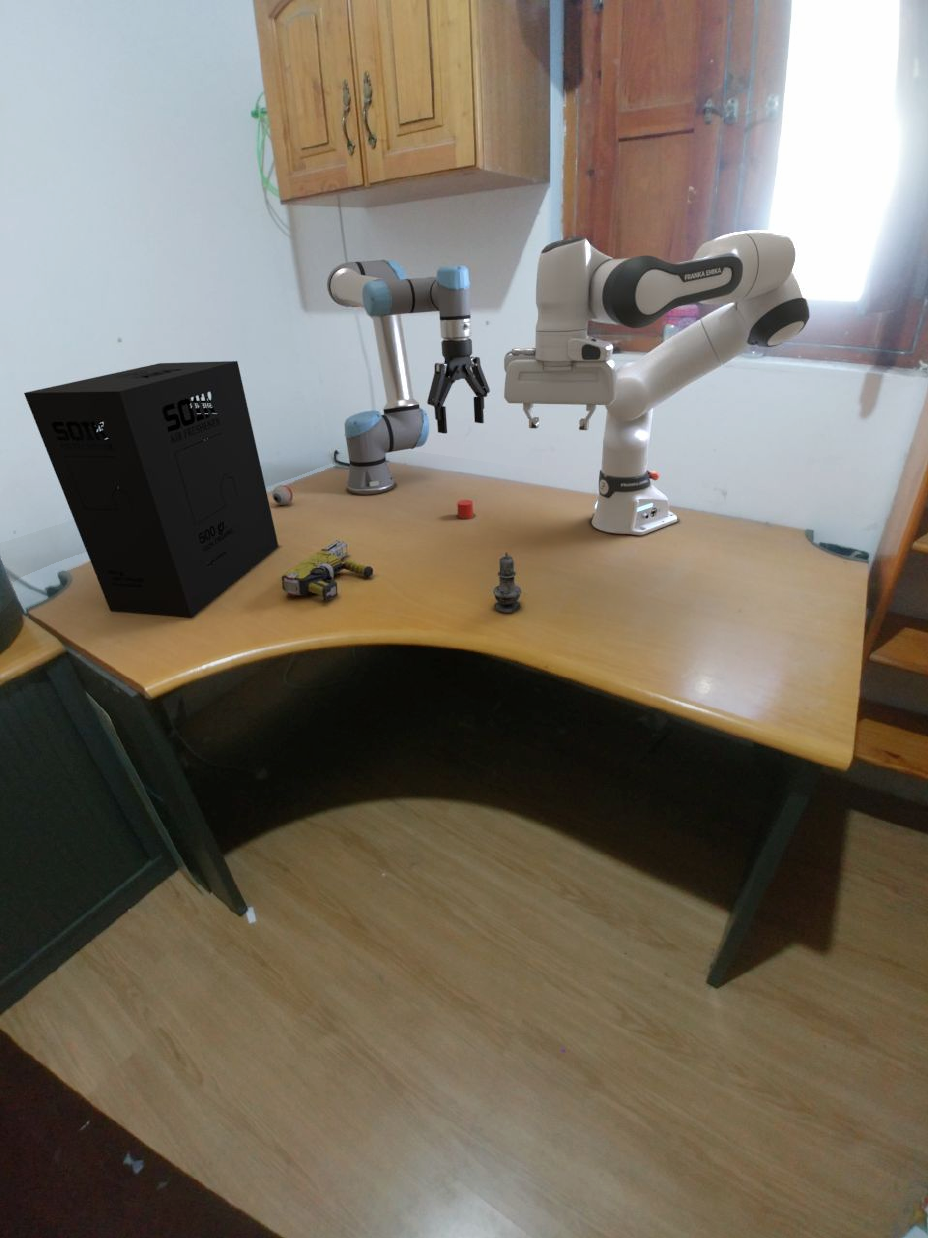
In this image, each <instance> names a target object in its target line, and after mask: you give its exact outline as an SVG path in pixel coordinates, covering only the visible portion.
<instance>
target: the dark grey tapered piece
mask: <svg viewBox="0 0 928 1238" xmlns="http://www.w3.org/2000/svg"><path fill="white" fill-rule="evenodd" d="M498 562H499V564H498V565H499V566H498V567H499V571H498V572H497V576H498V577H499V578H498V579H499V583H498V585H497V586H495V587H494V588H492V594H493V595H494V598H495V600H496V601H497V602H495V603H494V609H495V610H496V611H497V612H500V613H515V612H517V611H519V609H520V608H521V603H520V602H518V601H519V600H520V597H521V594H522V591H523V590H522V588H521V587H520V586H519V585H516V581H515V577H516V575H517V572H516V571H515V560H514V557H512V556H511V555H509V553H508V552H505V553H504V556H501V557H500V558H499V561H498Z"/></svg>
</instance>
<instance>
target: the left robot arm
mask: <svg viewBox="0 0 928 1238" xmlns="http://www.w3.org/2000/svg"><path fill="white" fill-rule="evenodd" d="M469 276H470V275H469V269H468V267H467V266H465V265H450V266H439V267H438V268H437V271H436V276H427V277H416V278H408V277H407V274H406V272H405V270H404V267H403V266H401V264H400V263H399V262H398V261H397V260H387V259H379V260H378V259H377V260H376V259H375V260H365V261H364V260H363V261H347V262H344V263H341V264H338V265H337V266H335V267H334V268H333V269H332V270H331V271H330V273H329V275H328V277H327V282H326V288H327V292H328V295H329V296H330V298H331V299H332V300H333V302H334V303H336V304H337V305H340V306H343V307H346V308H363V309H364V310H365V312H366V315H367V316H368V317H369V318H370V319H371V320H372V322H373V329H374V334H375V341H376V347H377V353H378V358H379V365H380V371H381V376H382V381H383V389H384V393H385V399H386V403H385V405H384V406H383V408H382V411H383V414H382V413H381V412H380V411H378V410H365V411H361V412H357V413H354V414H353V415H350V416H349V417H347V418H346V419H345V421H344V437H345V442H346V448H347V454H348V455H347V456H348V461H349V462H344V461H340V460H338V459H337V454H339V451H338V450H337V449H335V450H334V451H333V460H334V461H335V462H336V463H337V464H339V465H343V466H349V471H348V476H347V482H346V487H347V491H348V492H349V493H350V494H353V495H359V496H371V495H379V494H384V493H385V492H389V491H391V490H392V489H394V488H395V478H394V477H393V475H392V471H391V470H390V467H389V466H388V463H387V458H386V454H387V453H394V452H400V451H405V450H413V449H415V448H419V447H423V446H424V445H425V444H426V443H427V441H428V438H429V435H430V421H429V416H428V414H427V411H426V410H425V409H423V408H421V407H420V403H419V402H418V401H417V400H416V399H415V398H414V393H413V387H412V381H411V379H412V378H411V373H410V367H409V361H408V354H407V347H406V341H405V335H404V328H403V321H402V315H403V314H405V315H407V314H420V313H432V312H439V313H438V314H439V329H440V338H441V339H443V340H441V342H440V343H441V355H442V357H443V359H444V361H443V362H436V363H434V371H433V372H434V374H433V377H432V381H431V386H430V390H429V394H428V397H427V403H426V404H427V405H429V406H432V407H433V408H434V418H435V420H436V425H437V433H438V434H448V423H447V407H446V406H445V405H444V404H445V403H446V402H445V401H446V399H447V397H448V395H449V393H450V390H451V389H452V386H453V384H454V383H455V382H456V381H459V380H465V382H466V383H467V385H468V386H469V388H470V389H471V391H472V392H473V393H474V395H475V396H473V416H474V417H473V418H474V423H476V424H484V423H485V420H484V419H485V418H484V410H485V398H487V397H488V394H490V392H491V389H490V387H489V384H488V382H487V380H486V376H485V374H484V371H483V369H482V365H481V358H480V357H479V356H472V354H473V340H472V339H471V336H472V320H471V319H472V317H471V288H470V287H471V283H470V278H469Z"/></svg>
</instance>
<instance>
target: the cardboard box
mask: <svg viewBox="0 0 928 1238" xmlns="http://www.w3.org/2000/svg"><path fill="white" fill-rule="evenodd" d="M209 393H210V397H209V395H208V394H209ZM23 394H24V397H25V399H26V402H27V405H28V407H29V410H30V412H31V414H32V418H33V420H34V423H35V425H36V427H37V430H38V431H39V432H38V433H39V435H40V437H41V440H42V442H43V445H44V447H45V450H46V452H47V455H48V457H49V460H50V463H51V465H52V467H53V470H54V473H55V475H56V478H57V480H58V483H59V486H60V488H61V490H62V493H63V495H64V498H65V501H66V503H67V505H68V509H69V510H70V513H71V516H72V518H73V520H74V523H75V525H76V528H77V532H78V533H79V536H80V538H81V541H82V544H83V546H84V548H85V551H86V554H87V555H88V558H89V561H90V563H91V566H92V568H93V571H94V574H95V576H96V579H97V581H98V584H99V587H100V589H101V591H102V594H103V597H104V598H105V601H106V603H107V607H108V609H109V611H110V612H119V613H120V612H122V613H133V614H146V615H157V616H160V615H161V616H170V617H171V616H172V617H183V618H193V617H194V616H195V615H196V614H197V613H199V612H200V611H202V610H203V609H204V608H205V607H206V606H208V605H209V604H210V603H211V602H213V600H214V599H216V598H217V597H218V596H219V595H221V594H222V593H223V592H225V591H226V590H227V589H228V588H230V586H232V585H233V584H234V583H235V582H237V581H238V580H239V579H240V578H242V577H243V576H244V575H246V573H248V572H249V571H250V570H252V568H254V567H256V565H258V564H259V563H260V562H262V560H264V559H265V558H266V557H267V556H268V555H270V554H271V553H273V551H275V550H276V549H277V548H279V542H278V537H277V533H276V529H275V524H274V520H273V515H272V510H271V505H270V502H269V497H268V493H267V487H266V483H265V479H264V474H263V471H262V466H261V461H260V457H259V452H258V447H257V444H256V439H255V434H254V429H253V425H252V421H251V417H250V416H251V415H250V411H249V408H248V403H247V398H246V394H245V388H244V385H243V379H242V376H241V371H240V367H239V361H238V360H227V361H226V360H225V361H224V360H223V361H189V362H188V361H187V362H159V363H155V364H149V365H145V366H140V367H136V368H131V369H126V370H123V371H117V372H114V373H113V372H112V373H109V374H104V375H100V376H95V377H90V378H86V379H81V380H77V381H72V382H68V383H62V384H58V385H54V386H53V385H52V386H49V387H44V388H40V389H35V390H32V391H31V390H30V391H26V392H23ZM197 397H198V398H197ZM192 398H193V399H192ZM202 398H203V399H204V400H202Z"/></svg>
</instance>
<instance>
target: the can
mask: <svg viewBox="0 0 928 1238" xmlns="http://www.w3.org/2000/svg"><path fill="white" fill-rule="evenodd" d="M456 507H457V518H459V519H461V520H468V519H471V518H473V517H474V504H473V501H472V500H471V499H461V500H458V501H457V502H456Z"/></svg>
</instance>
